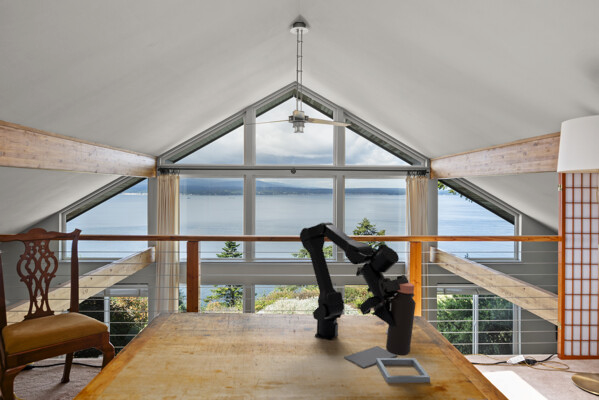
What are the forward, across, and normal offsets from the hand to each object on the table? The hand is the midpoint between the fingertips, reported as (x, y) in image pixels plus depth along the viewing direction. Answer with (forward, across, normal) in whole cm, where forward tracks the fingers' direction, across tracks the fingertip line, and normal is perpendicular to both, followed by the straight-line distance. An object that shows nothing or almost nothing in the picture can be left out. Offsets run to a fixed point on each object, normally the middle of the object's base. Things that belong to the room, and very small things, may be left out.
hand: (402, 327), depth 122 cm
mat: (+1, 0, +17) cm, 17 cm away
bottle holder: (+10, 0, +9) cm, 13 cm away
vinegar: (+4, 0, +6) cm, 8 cm away
